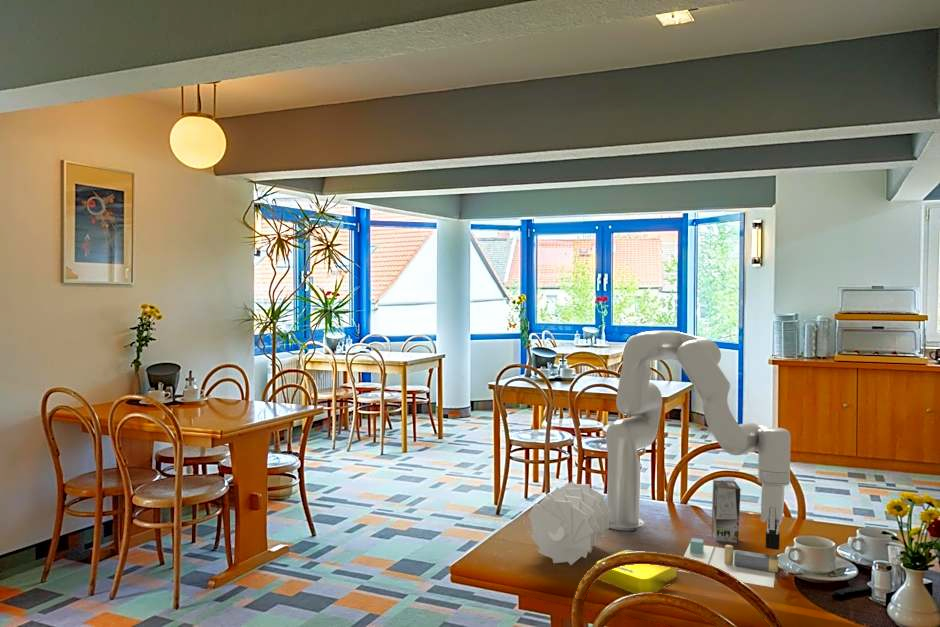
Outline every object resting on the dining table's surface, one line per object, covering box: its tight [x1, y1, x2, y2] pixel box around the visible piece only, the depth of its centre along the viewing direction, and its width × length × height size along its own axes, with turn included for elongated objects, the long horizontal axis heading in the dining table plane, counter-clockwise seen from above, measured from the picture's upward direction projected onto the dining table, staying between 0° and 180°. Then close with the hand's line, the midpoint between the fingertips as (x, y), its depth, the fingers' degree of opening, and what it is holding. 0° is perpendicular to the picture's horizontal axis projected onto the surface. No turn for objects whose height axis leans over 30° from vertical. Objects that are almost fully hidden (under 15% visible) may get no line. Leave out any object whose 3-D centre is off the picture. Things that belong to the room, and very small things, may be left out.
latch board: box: [676, 537, 776, 589], centre depth 187 cm, size 22×23×6 cm
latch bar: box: [734, 549, 779, 573], centre depth 184 cm, size 10×3×3 cm, turn 66°
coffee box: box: [711, 479, 742, 543], centre depth 208 cm, size 9×6×16 cm
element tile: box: [595, 549, 677, 594], centre depth 178 cm, size 15×15×5 cm
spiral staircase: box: [527, 480, 611, 566], centre depth 195 cm, size 18×18×25 cm
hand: (772, 548), depth 188 cm, fingers closed
